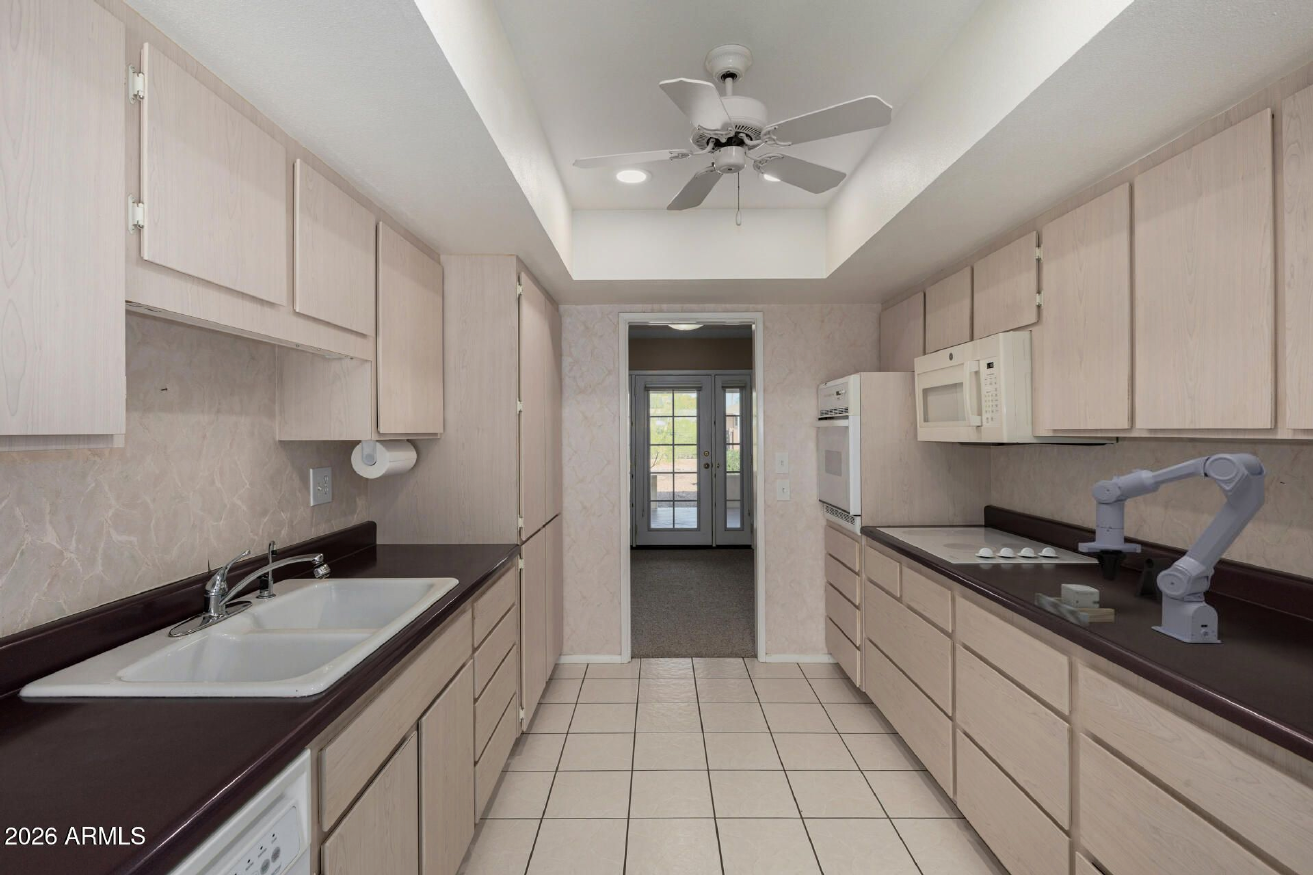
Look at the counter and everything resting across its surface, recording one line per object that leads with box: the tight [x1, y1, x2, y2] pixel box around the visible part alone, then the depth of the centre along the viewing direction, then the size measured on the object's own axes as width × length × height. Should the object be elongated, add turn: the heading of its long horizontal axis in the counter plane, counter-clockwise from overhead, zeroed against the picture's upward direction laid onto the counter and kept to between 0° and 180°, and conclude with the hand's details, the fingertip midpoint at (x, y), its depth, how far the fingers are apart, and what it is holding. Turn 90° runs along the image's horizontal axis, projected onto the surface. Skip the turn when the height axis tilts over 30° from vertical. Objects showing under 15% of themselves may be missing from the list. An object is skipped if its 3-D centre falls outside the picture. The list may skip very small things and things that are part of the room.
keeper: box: [1034, 592, 1115, 628], centre depth 150 cm, size 18×11×3 cm, turn 179°
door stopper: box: [1132, 556, 1174, 605], centre depth 163 cm, size 9×6×12 cm, turn 9°
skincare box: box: [1060, 583, 1100, 608], centre depth 150 cm, size 6×6×7 cm
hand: (1108, 579), depth 149 cm, fingers closed
